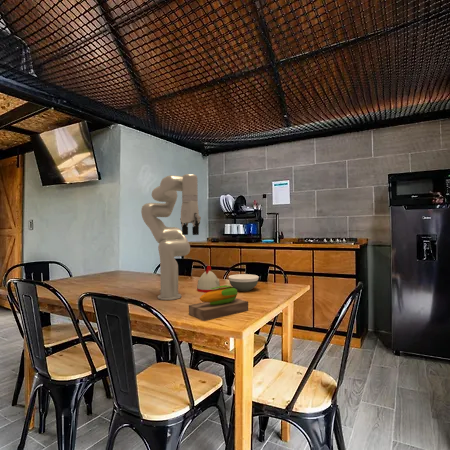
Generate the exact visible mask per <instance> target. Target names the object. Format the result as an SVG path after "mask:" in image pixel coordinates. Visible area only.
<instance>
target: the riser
mask: <svg viewBox="0 0 450 450" xmlns="http://www.w3.org/2000/svg"><path fill="white" fill-rule="evenodd" d="M209 304H210V303H209V302H198V303H194V304H189V305H188V315H189V316H192V317H194V318H196V319H199V320H202V321H204V322H205V321H210V320H215V319H217V318H222V317H227V316H231V315H235V314H239V313H243V312H244V313H245V312H248V311H249V301H247V300H243V299H239V298H237V297H236V298H235V300H233V301H232V302H230V303H225V304H220V305H209Z"/></svg>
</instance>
